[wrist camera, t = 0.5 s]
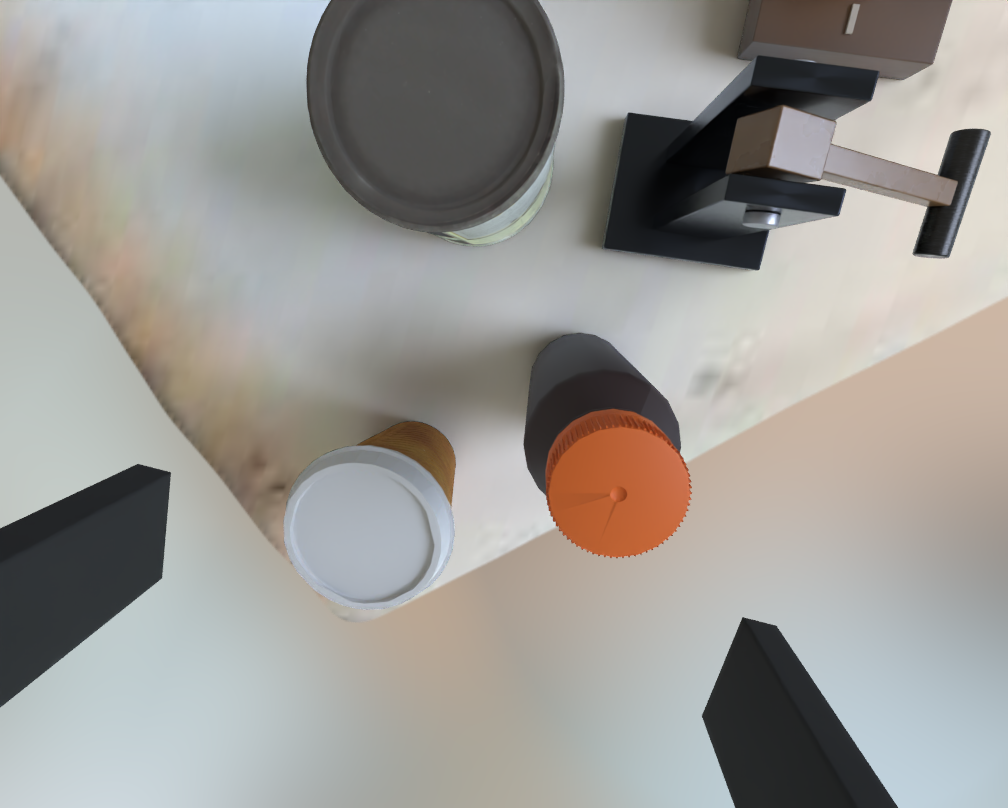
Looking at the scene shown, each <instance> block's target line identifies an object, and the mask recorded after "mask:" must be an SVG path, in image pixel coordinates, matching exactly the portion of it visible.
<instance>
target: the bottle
mask: <svg viewBox="0 0 1008 808" xmlns="http://www.w3.org/2000/svg"><path fill="white" fill-rule="evenodd" d="M680 449H681V442H680V432H679V423H678V421H677V419H676V417H675V415H674V413H673V411H672V409H671V406H670V404H669V402H668V400H667V399H666V398H665V397H664V396H663V395H662V394H661V393H660V392H659V391H658V390H657V389H656V388H655V387H654V386H653V385H652V384H651V383H650V382H649V381H648V380H647V379H646V378H645V377H644V376H643V375H642V374H641V373H640V372H639V371H638V370H637V369H636V368H635V367H634V366H633V365H631V364H630V363H629V362H628V361H627V360H626V359H625V358H624V357H623V356H622V355H621V354H620V353H619V352H618V351H617V350H616V349H615V348H614V347H613V346H612V345H611V344H610V343H609V342H607V341H605V340H603V339H601V338H599V337H597V336H596V335H590V334H583V333H576V334H570V335H564V336H562V337H560V338H558V339H556V340H554V341H552V342H550V343H549V344H548V345H547V346H546V347H545V348H544V349H543V350H542V351H541V352H540V353H539V355H538V357H537V359H536V361H535V363H534V365H533V367H532V372H531V379H530V387H529V396H528V406H527V416H526V425H525V435H524V450H525V456H526V462H527V467H528V470H529V472H530V473H531V475H532V477H533V479H534V481H535V483H536V484H537V486H538V488H539V489H540V490H541V491H542V492H543V493H544V494H545V495H546V499H547V505H548V506H549V511H551V516H553V522H555V521H556V526H559V531H562V532H563V535H566V536H567V539H571V542H572V543H575V544H576V546H580V547H581V549H582V550H583V549H586V550H587V552H588V551H590V552H592V554H594V553H595V554H598V556H600V555H604V557H606V556H610V558H612V557H616V558H618V557H622V558H624V556H628V557H630V555H634V556H636V555H638V554H642V553H643V552H645V551H646V552H647V550H650V549H651V550H653V548H654V547H658V545H659V544H661V543H662V544H663V541H664V540H665V539H666V540H668V537H669V536H670V535H671V536H673V535H672V534H673V533H674V531H676V528H677V527H680V525H679V524H680V522H683V517H685V516H686V515H685V513H686V511H688V509H687V505H688V506H689V505H690V504H689V502H688V501H689V500H691V498H690V494H692V493H691V491H690V489H689V488H692V487H691V485H690V484H689V483H690V482H691V480H690V479H689V477H690V474H689V473H688V472H687V471H688V468H687V467H686V463H685V462H684V459H683V457H682V456H681V455H680Z"/></svg>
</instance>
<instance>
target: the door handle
mask: <svg viewBox="0 0 1008 808" xmlns="http://www.w3.org/2000/svg"><path fill="white" fill-rule="evenodd" d="M835 127H836V121H834V120H831V119H827V118H824V117H821V116H818V115H815V114H812V113H808V112H805V111H802V110H799V109H796V108H792V107H789V106H786V105H779V106H776V107H773V108H769V109H766V110H763V111H760V112H756V113H753V114H750V115H747V116H743V117H740V118H738V120H737V123H736V128H735V132H734V137H733V141H732V145H731V150H730V154H729V159H728V163H727V168H726V172H725V173H726V174H727V175H729V174H731V173H735V174H742V175H749V176H757V177H764V178H771V179H779V180H786V181H793V182H801V183H806V182H814V181H820V180H821V179H823V180H827V181H831V182H835V183H838V184H842V185H846V186H850V187H854V188H858V189H861V190H865V191H869V192H873V193H877V194H880V195H884V196H888V197H892V198H896V199H899V200H903V201H907V202H911V203H915V204H919V205H922V206H926V207H927V210H926V213H925V216H924V219H923V222H922V225H921V229H920V232H919V235H918V238H917V241H916V244H915V247H914V250H913V255H914V256H918V257H926V258H949V256H950V254H951V251H952V248H953V245H954V242H955V239H956V236H957V233H958V230H959V227H960V224H961V221H962V218H963V215H964V212H965V209H966V206H967V203H968V200H969V197H970V194H971V191H972V188H973V185H974V182H975V179H976V176H977V173H978V170H979V167H980V164H981V161H982V159H983V156H984V153H985V150H986V147H987V144H988V141H989V138H990V135H991V132H990V131H988V130H984V129H964V130H959V131H955V132H953V133H952V134H951V135H950V138H949V141H948V144H947V147H946V150H945V153H944V157H943V160H942V163H941V166H940V169H939V172H938V175H935V174H932V173H928V172H925V171H921V170H918V169H915V168H911V167H908V166H905V165H901V164H898V163H894V162H891V161H888V160H884V159H881V158H877V157H874V156H871V155H867V154H864V153H860V152H857V151H854V150H850V149H847V148H843V147H840V146H837V145H833V144H831V141H832V138H833V134H834V130H835Z"/></svg>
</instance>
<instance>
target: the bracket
mask: <svg viewBox="0 0 1008 808" xmlns="http://www.w3.org/2000/svg"><path fill="white" fill-rule="evenodd" d="M878 76H879V71H877V70H870V69H862V68H854V67H846V66H839V65H831V64H823V63H817V62H815V61H813V60H808V59H795V60H792V59H784V58H777V57H769V56H761V55H758V56H757V57H756V58H755V59H754V60H753V61H752V62H751V63H750V64H749V65H748V66H747V67H746V68H745V69H744V70H743V71H742V72H741V73H740V74H739V75H738V76H737V77H736V78H735V79H734V80H733V81H732V82H731V83H730V84H729V85H728V86H727V87H726V88H725V89H724V90H723V91H722V92H721V93H720V94H719V95H718V96H717V97H716V98H715V99H714V100H713V101H712V102H711V103H710V104H709V105H708V106H707V107H706V108H705V109H704V110H703V112H702V113H701V114H700V115H699V116H698V117H697V118H696V119H695V120H694V121H688V120H680V119H673V118H665V117H658V116H651V115H643V114H636V113H628V114H627V116H626V118H625V122H624V128H623V133H622V139H621V144H620V150H619V156H618V161H617V167H616V172H615V178H614V184H613V189H612V195H611V200H610V206H609V212H608V217H607V223H606V228H605V234H604V239H603V245H602V249H605V250H612V251H619V252H626V253H633V254H640V255H647V256H654V257H661V258H668V259H675V260H682V261H689V262H696V263H703V264H710V265H717V266H724V267H731V268H738V269H745V270H759V269H760V265H761V261H762V257H763V253H764V249H765V245H766V241H767V237H768V233H769V230H771V229H776V228H780V227H785V226H790V225H795V224H800V223H805V222H810V221H815V220H820V219H825V218H830V217H835V216H839V214H840V210H841V207H842V203H843V200H844V196H845V193H846V189H844V188H837V187H830V186H822V185H815V184H808V183H801V182H793V181H786V180H779V179H771V178H764V177H757V176H749V175H742V174H735V173H731V174H729V175H727V174H726V173H725V172H726V168H727V163H728V159H729V154H730V150H731V145H732V141H733V137H734V132H735V128H736V123H737V120H738V118H740V117H743V116H747V115H750V114H753V113H756V112H760V111H763V110H766V109H769V108H773V107H776V106H779V105H786V106H789V107H792V108H796V109H799V110H802V111H805V112H808V113H812V114H815V115H818V116H821V117H824V118H827V119H831V120H835V119H837V118H839V117H841V116H843V115H845V114H847V113H849V112H850V111H852V110H854V109H856V108H858V107H860V106H862V105H864V104H866V103H867V102H869V101H871V100H872V97H873V94H874V90H875V87H876V83H877V79H878Z"/></svg>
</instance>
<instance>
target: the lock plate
mask: <svg viewBox="0 0 1008 808" xmlns="http://www.w3.org/2000/svg"><path fill="white" fill-rule="evenodd" d="M951 3H952V0H750V2H749V7H748V11H747V16H746V20H745V25H744V29H743V34H742V38H741V43H740V47H739V52H738V58H739V59H746V60H754V59H755V58H756V57H757V56H758V55H761V56H769V57H777V58H784V59H792V60H795V59H808V60H813V61H815V62H817V63H823V64H831V65H839V66H846V67H854V68H862V69H870V70H877V71H879V76H878V77H885V78H893V79H901V80H904V79H906V78H908V77H910V76H912V75H914V74H915V73H917V72H919V71H921V70H923V69H925V68H926V67H928V66H930V65H932V64H933V63H934V59H935V56H936V53H937V49H938V46H939V43H940V39H941V36H942V33H943V30H944V26H945V23H946V20H947V16H948V13H949V10H950V6H951Z"/></svg>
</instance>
